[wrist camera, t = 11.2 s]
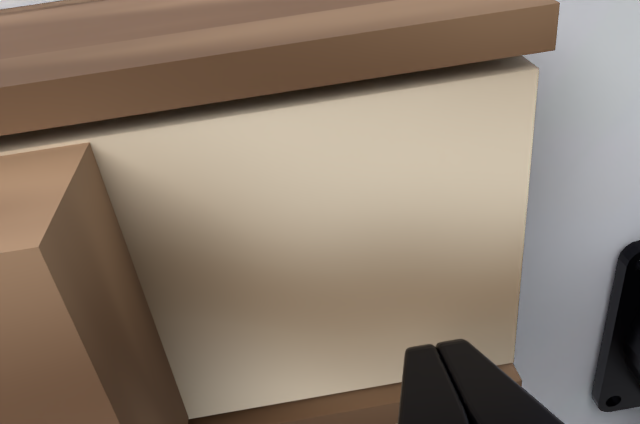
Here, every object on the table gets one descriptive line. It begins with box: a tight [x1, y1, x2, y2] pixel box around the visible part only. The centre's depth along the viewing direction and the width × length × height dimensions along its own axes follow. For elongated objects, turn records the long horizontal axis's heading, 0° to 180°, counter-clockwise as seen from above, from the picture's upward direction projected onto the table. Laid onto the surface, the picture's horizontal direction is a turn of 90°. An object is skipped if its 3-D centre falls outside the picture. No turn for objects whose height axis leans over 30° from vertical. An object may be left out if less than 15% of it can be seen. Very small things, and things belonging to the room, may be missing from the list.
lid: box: [0, 55, 539, 424], centre depth 9 cm, size 6×14×3 cm, turn 97°
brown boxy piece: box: [0, 0, 560, 424], centre depth 11 cm, size 8×14×5 cm, turn 97°
